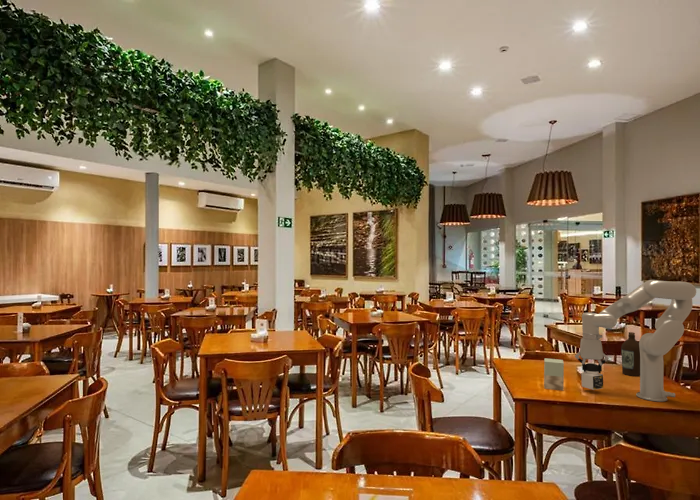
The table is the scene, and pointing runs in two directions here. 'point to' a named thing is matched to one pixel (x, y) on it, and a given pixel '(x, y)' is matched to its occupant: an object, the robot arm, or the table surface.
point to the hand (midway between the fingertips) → (592, 371)
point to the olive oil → (630, 356)
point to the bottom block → (553, 382)
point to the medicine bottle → (592, 377)
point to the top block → (553, 367)
